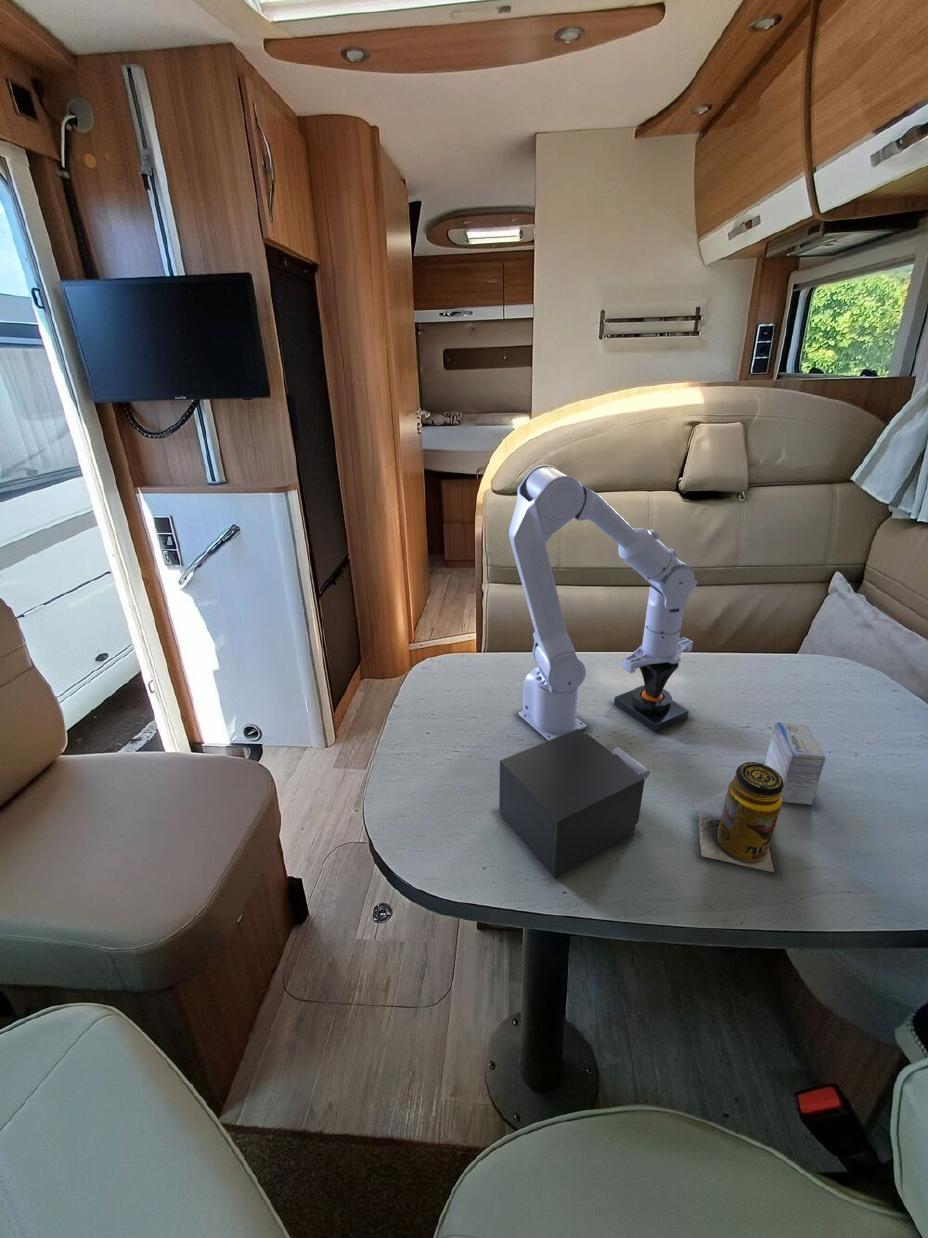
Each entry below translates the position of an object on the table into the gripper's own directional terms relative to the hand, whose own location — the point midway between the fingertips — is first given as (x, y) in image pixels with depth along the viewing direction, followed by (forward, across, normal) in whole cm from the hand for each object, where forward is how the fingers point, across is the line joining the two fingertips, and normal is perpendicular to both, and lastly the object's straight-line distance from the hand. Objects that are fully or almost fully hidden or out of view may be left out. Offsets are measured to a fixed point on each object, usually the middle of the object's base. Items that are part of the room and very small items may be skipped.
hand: (652, 694), depth 99 cm
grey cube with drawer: (+3, -30, -13) cm, 33 cm away
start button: (+2, 0, 0) cm, 2 cm away
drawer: (+3, -26, -13) cm, 29 cm away
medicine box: (+4, +3, -24) cm, 24 cm away
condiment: (+4, -13, -27) cm, 30 cm away
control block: (+3, 0, 0) cm, 3 cm away
